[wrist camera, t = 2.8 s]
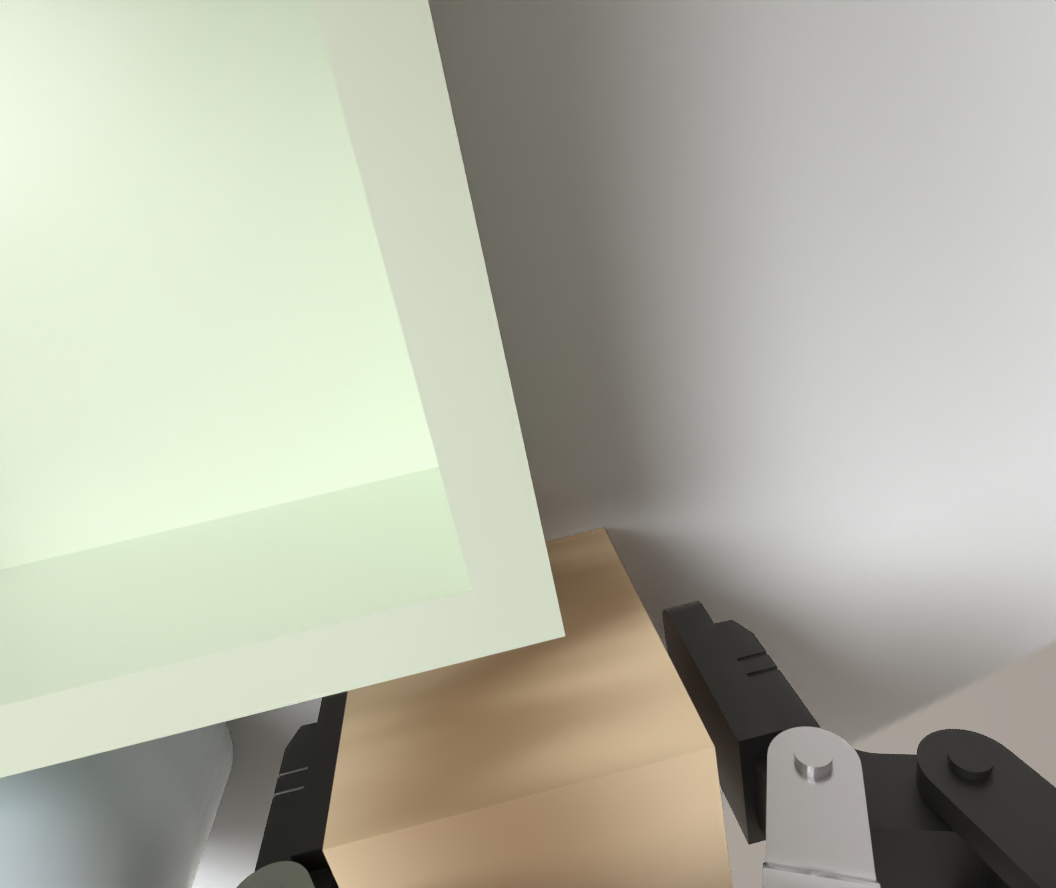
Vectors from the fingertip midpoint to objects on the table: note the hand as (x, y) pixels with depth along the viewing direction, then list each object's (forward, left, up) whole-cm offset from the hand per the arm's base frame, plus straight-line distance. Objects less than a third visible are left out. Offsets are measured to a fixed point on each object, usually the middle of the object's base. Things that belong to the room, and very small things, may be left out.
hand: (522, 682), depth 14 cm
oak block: (0, 0, -1) cm, 1 cm away
